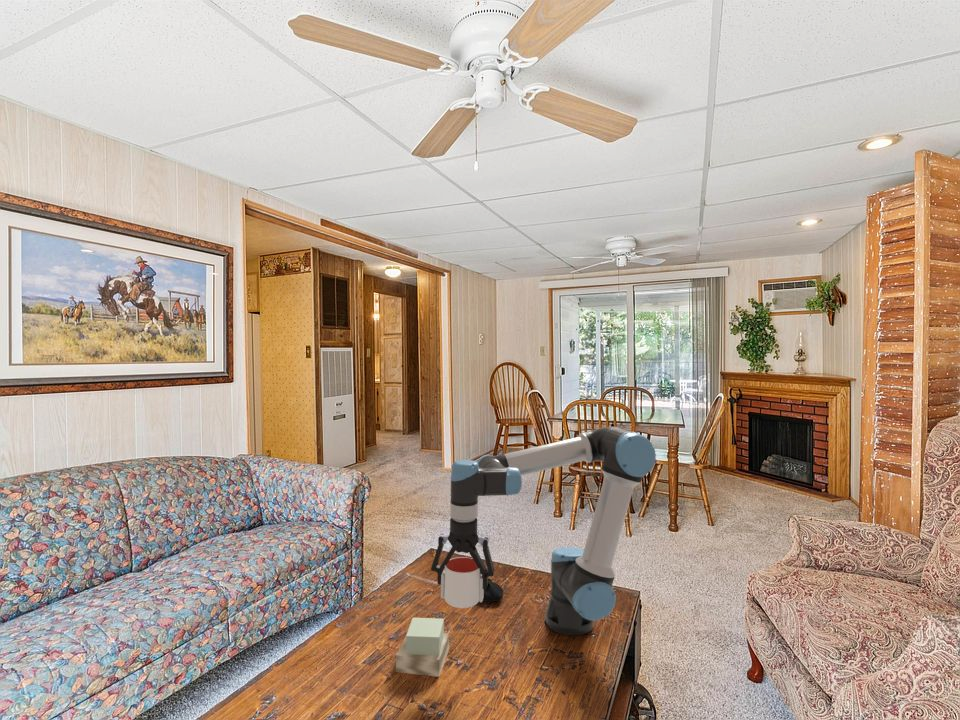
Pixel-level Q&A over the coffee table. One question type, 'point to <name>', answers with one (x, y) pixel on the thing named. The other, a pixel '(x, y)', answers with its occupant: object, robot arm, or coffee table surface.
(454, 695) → the coffee table surface
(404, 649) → the tower base
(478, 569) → the cup
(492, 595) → the rock
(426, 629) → the tower top
